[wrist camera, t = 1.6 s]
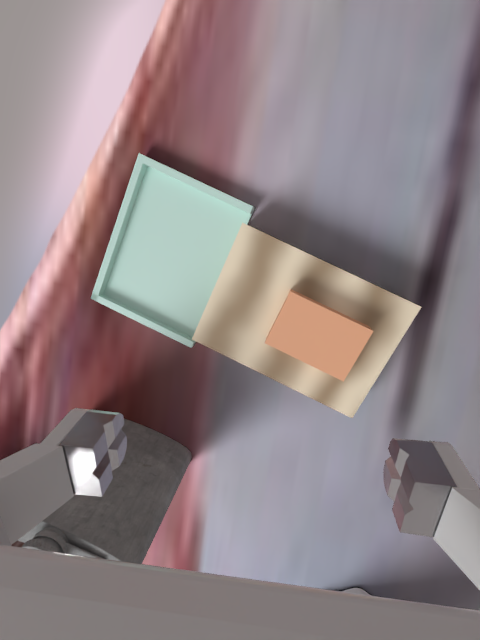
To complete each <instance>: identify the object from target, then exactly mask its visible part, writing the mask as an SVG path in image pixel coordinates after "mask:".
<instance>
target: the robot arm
mask: <svg viewBox="0 0 480 640" xmlns="http://www.w3.org/2000/svg"><path fill="white" fill-rule="evenodd" d="M124 424H125V423H124V418H123V415H122V414H121V413H116V412H108V411H99V410H88V409H79V408H75V409H72V410H71V411H70V412H69V413H68V414H67V415H66V416H65V417H64V418H63V419H62V420H61V422H60V423H59V424H58V425H57V426H56V427H55V428H54V429H53V430H52V431H51V433H50V434H49V435H48V436H47V437H46V438H45V439H44V440H43V441H42V442H41V443H40V444H36V443H35V444H33V445H31V446H29V447H27V448H25V449H23V450H21V451H19V452H17V453H15V454H12V455H10V456H8V457H6V458H4V459H2V460H0V640H480V611H479V610H471V609H464V608H457V607H450V606H442V605H435V604H428V603H421V602H413V601H406V600H399V599H392V598H384V597H377V596H371V595H370V594H368V593H367V592H366V591H364V590H363V589H360V588H351V589H347V590H344V591H333V590H326V589H319V588H312V587H304V586H297V585H290V584H282V583H275V582H268V581H260V580H253V579H246V578H239V577H231V576H224V575H217V574H209V573H202V572H195V571H187V570H180V569H173V568H166V567H159V566H151V565H144V564H137V563H130V562H123V561H115V560H108V559H101V558H94V557H87V556H79V555H72V554H65V553H58V552H50V551H43V550H36V549H28V548H21V547H14V546H12V544H13V543H15V542H16V541H17V540H18V539H20V538H21V537H22V536H24V535H25V534H26V533H27V532H29V531H30V530H31V529H33V528H34V527H35V526H36V525H38V524H39V523H40V522H42V521H43V520H44V519H45V518H47V517H48V516H49V515H51V514H52V513H53V512H54V511H56V510H57V509H58V508H59V507H61V506H62V505H63V504H65V503H66V502H67V501H68V500H70V499H71V498H72V497H74V494H75V495H87V496H98V497H102V496H103V495H104V493H105V491H106V489H107V488H108V486H109V484H110V482H111V481H112V479H113V475H112V471H113V470H114V469H116V468H117V467H119V466H120V465H121V463H122V461H123V459H124V456H125V452H126V449H127V437H126V434H125V433H124V432H123V431H122V430H121V428H122V427H123V425H124ZM388 449H389V452H390V455H391V457H389V458H388V459H387V460H386V461H385V465H384V484H385V489H386V492H387V495H388V496H389V497H390V498H391V499H392V500H393V501H394V505H393V508H392V510H393V513H394V516H395V519H396V522H397V525H398V528H399V531H400V532H402V533H408V534H415V535H422V536H429V537H434V538H433V539H434V540H435V541H436V542H437V543H438V545H439V546H440V547H441V548H442V549H443V550H444V551H445V552H446V553H447V555H448V556H449V557H450V558H451V559H452V560H453V561H454V562H455V564H456V565H457V566H458V567H459V568H460V569H461V570H462V571H463V572H464V574H465V575H466V576H467V577H468V578H469V579H470V580H471V581H472V582H473V584H474V585H475V586H476V587H477V588H478V589H479V590H480V489H479V487H478V485H477V484H476V482H475V481H474V479H473V478H472V476H471V475H470V473H469V471H468V470H467V468H466V467H465V465H464V464H463V462H462V461H461V459H460V457H459V456H458V454H457V453H456V451H455V450H454V448H453V446H452V445H451V444H449V443H448V442H435V441H429V442H428V441H418V440H407V439H395V438H392V440H391V441H390V444H389V448H388Z"/></svg>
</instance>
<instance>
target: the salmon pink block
mask: <svg viewBox="0 0 480 640" xmlns="http://www.w3.org/2000/svg"><path fill="white" fill-rule="evenodd" d="M372 333H373V330H372V329H371V328H370V327H369V326H367V325H365V324H363V323H361V322H359V321H357V320H355V319H353V318H351V317H348V316H346V315H344V314H342V313H340V312H338V311H336V310H334V309H332V308H330V307H328V306H325V305H323V304H321V303H319V302H317V301H315V300H313V299H311V298H309V297H307V296H304V295H302V294H300V293H298V292H296V291H294V290H292V289H291V290H290V292H289V294H288V296H287V298H286V300H285V302H284V304H283V306H282V308H281V310H280V312H279V314H278V316H277V318H276V320H275V322H274V324H273V325H272V327H271V329H270V331H269V333H268V335H267V337H266V340H265V344H267V345H269V346H271V347H274V348H276V349H278V350H280V351H282V352H284V353H286V354H288V355H290V356H292V357H294V358H296V359H298V360H300V361H302V362H304V363H306V364H308V365H311V366H313V367H315V368H317V369H319V370H321V371H323V372H325V373H327V374H329V375H331V376H333V377H335V378H337V379H339V380H341V381H343V382H344V380H345V378H346V377H347V375H348V373H349V372H350V370H351V368H352V367H353V365H354V363H355V362H356V360H357V358H358V357H359V355H360V353H361V352H362V350H363V348H364V346H365V345H366V343H367V341H368V340H369V338H370V336H371V335H372Z"/></svg>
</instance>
